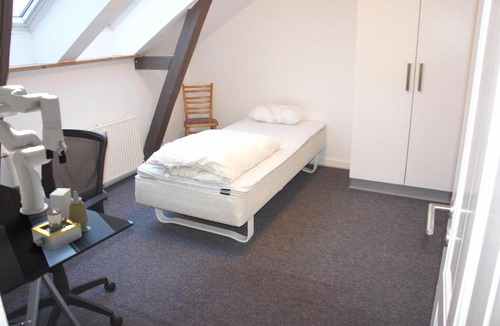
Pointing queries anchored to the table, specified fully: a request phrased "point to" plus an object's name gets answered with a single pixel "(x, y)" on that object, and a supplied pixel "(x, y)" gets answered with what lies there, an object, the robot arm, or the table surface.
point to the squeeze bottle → (78, 210)
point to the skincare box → (61, 200)
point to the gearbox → (56, 234)
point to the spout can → (55, 219)
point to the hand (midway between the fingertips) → (56, 161)
